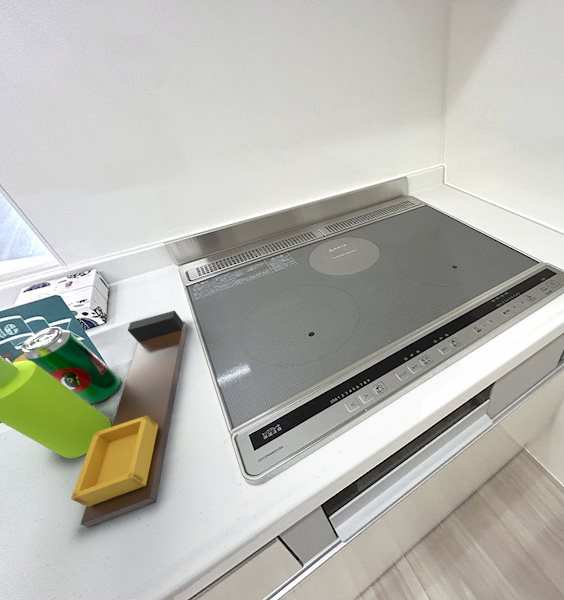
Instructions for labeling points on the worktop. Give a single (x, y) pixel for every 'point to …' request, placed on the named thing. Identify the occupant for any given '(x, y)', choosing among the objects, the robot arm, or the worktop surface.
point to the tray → (116, 461)
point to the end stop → (155, 326)
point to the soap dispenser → (47, 409)
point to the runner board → (145, 402)
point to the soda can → (71, 364)
